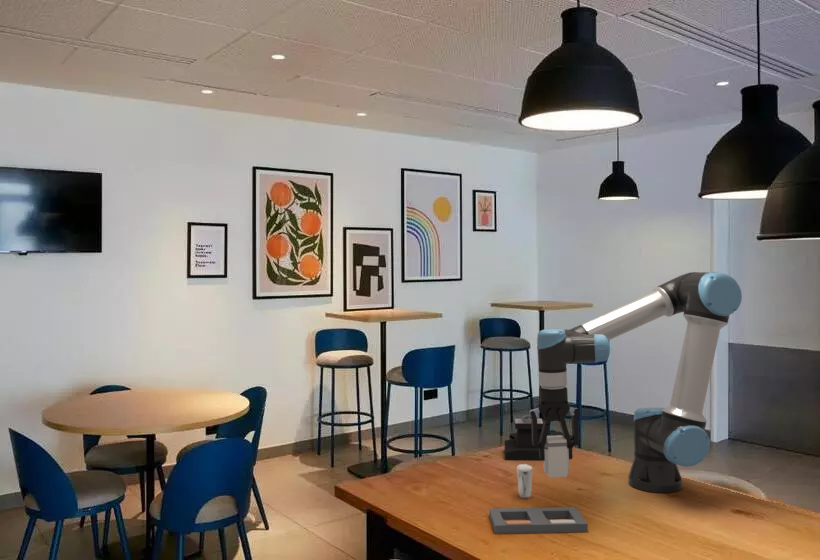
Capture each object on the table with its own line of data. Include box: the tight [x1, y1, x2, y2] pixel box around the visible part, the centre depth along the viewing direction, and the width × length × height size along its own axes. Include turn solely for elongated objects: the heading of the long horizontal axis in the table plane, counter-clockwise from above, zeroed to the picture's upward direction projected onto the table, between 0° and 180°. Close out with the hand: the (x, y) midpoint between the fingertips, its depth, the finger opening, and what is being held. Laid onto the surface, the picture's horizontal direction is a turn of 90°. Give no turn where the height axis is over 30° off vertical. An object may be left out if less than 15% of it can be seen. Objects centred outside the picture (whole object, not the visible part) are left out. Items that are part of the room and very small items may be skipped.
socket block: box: [488, 506, 589, 535], centre depth 176 cm, size 23×12×2 cm, turn 90°
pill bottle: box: [516, 463, 535, 499], centre depth 197 cm, size 4×5×10 cm
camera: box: [504, 414, 543, 462], centre depth 240 cm, size 16×14×15 cm
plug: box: [545, 434, 569, 479], centre depth 187 cm, size 5×5×10 cm
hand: (556, 471), depth 187 cm, fingers closed on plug, 5 cm apart
